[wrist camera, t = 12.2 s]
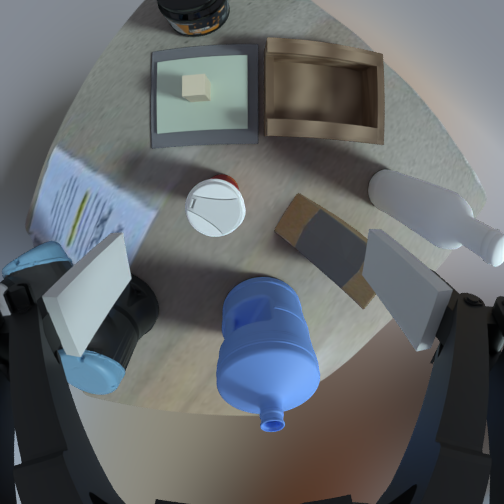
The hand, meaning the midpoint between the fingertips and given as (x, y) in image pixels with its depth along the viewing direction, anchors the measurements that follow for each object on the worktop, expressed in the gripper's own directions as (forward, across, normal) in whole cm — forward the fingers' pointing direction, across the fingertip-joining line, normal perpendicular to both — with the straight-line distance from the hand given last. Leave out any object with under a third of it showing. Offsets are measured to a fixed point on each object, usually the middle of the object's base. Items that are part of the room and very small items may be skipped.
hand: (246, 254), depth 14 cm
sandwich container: (+35, +14, -11) cm, 39 cm away
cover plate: (+34, -7, +14) cm, 38 cm away
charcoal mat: (+35, -7, +14) cm, 38 cm away
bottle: (+35, +26, -2) cm, 44 cm away
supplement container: (+35, -8, +30) cm, 47 cm away
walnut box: (+35, +12, +14) cm, 39 cm away
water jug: (+35, +3, -27) cm, 44 cm away
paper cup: (+35, -4, -3) cm, 35 cm away
